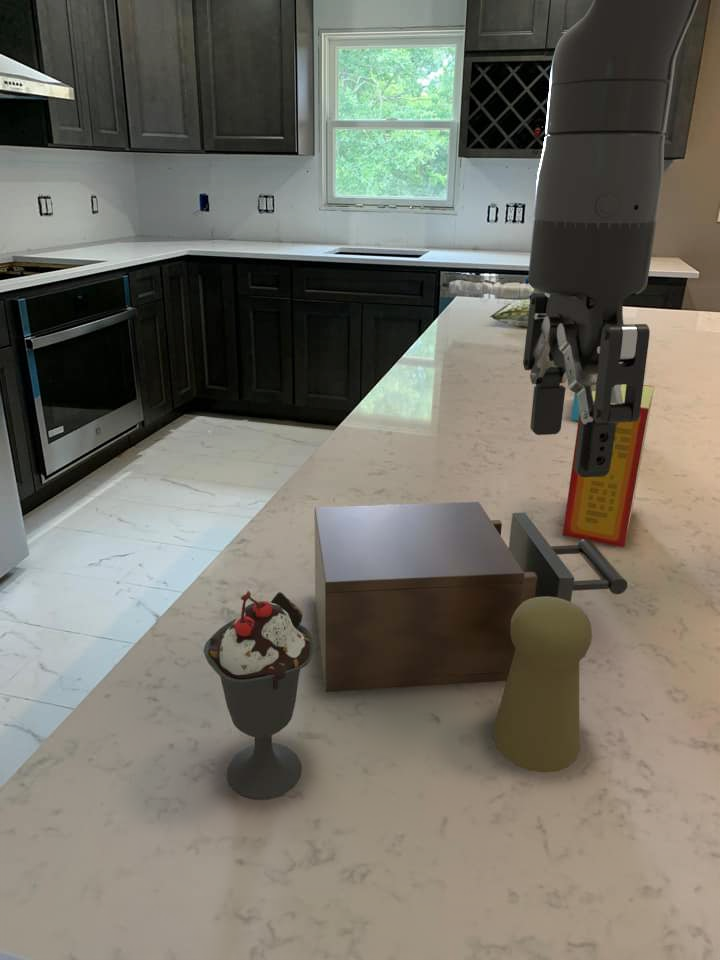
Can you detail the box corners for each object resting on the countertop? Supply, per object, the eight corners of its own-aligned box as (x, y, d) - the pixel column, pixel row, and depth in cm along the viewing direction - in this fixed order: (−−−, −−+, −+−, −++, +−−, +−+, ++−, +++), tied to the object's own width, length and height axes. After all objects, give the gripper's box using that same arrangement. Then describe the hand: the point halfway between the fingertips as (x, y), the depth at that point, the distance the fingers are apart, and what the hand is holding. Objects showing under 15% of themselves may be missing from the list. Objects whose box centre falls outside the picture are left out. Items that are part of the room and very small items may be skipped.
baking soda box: (575, 503, 89) (593, 376, 83) (631, 513, 87) (654, 383, 81) (562, 536, 81) (581, 397, 75) (623, 548, 79) (649, 405, 73)
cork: (484, 759, 50) (499, 623, 46) (500, 704, 55) (514, 577, 51) (575, 783, 48) (599, 644, 44) (582, 723, 53) (604, 594, 49)
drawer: (574, 584, 70) (586, 510, 67) (630, 659, 59) (646, 574, 56) (374, 594, 67) (376, 517, 64) (394, 673, 57) (397, 585, 54)
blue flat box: (579, 402, 130) (584, 368, 127) (588, 403, 129) (593, 369, 127) (570, 421, 119) (575, 384, 117) (580, 422, 119) (585, 385, 116)
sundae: (228, 826, 45) (213, 617, 39) (204, 751, 50) (188, 559, 44) (329, 793, 47) (329, 592, 41) (295, 726, 53) (291, 541, 47)
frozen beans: (510, 292, 207) (601, 300, 197) (508, 313, 210) (598, 321, 200) (489, 305, 190) (587, 314, 180) (487, 328, 192) (584, 337, 183)
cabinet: (470, 595, 69) (478, 501, 66) (512, 681, 58) (525, 573, 54) (315, 602, 68) (314, 507, 64) (325, 693, 56) (325, 582, 52)
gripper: (713, 220, 40) (665, 489, 47) (602, 208, 53) (576, 419, 60) (583, 222, 39) (552, 495, 46) (502, 208, 52) (487, 423, 59)
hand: (566, 452), depth 53 cm, fingers open, 8 cm apart
